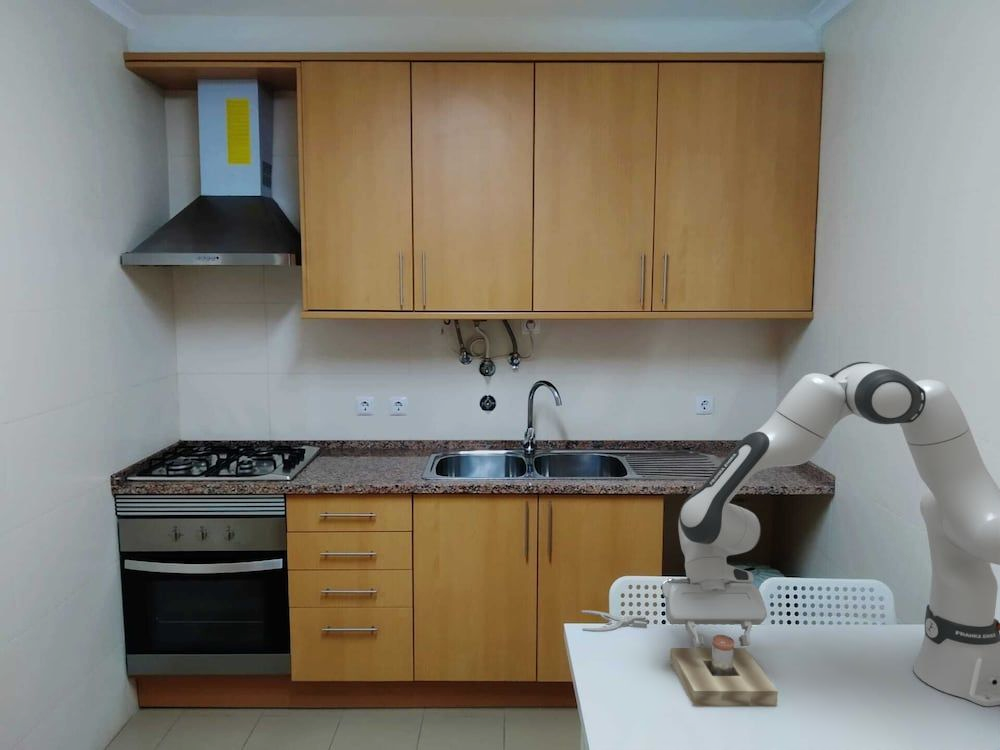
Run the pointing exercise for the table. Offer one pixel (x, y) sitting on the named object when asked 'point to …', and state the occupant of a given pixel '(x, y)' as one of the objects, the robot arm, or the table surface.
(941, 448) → the robot arm
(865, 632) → the table surface
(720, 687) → the wooden flat square block
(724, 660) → the steel peg
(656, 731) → the table surface
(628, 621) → the pliers
